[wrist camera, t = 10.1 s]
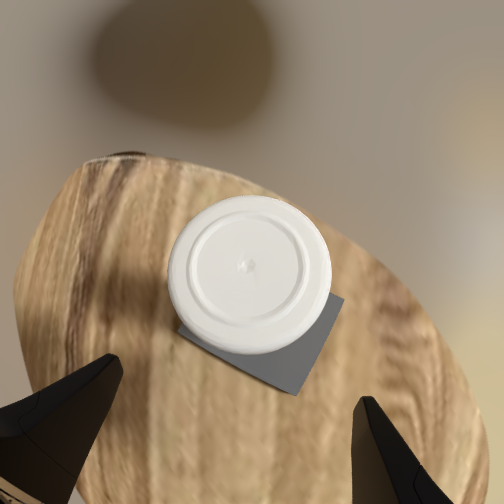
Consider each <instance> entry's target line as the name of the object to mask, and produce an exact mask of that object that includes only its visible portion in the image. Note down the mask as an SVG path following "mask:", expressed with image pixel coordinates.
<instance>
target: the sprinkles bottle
mask: <svg viewBox="0 0 504 504" xmlns="http://www.w3.org/2000/svg"><path fill="white" fill-rule="evenodd" d="M331 278H332V270H331V261H330V256H329V252H328V249H327V246H326V243H325V241H324V239H323V237H322V236H321V234H320V232H319V231H318V229H317V228H316V227H315V225H314V224H313V223H312V222H311V221H310V220H309V219H308V218H307V217H306V216H305V215H304V214H303V213H302V212H300V211H299V210H297V209H296V208H294V207H293V206H291V205H289V204H287V203H285V202H283V201H280V200H277V199H274V198H270V197H265V196H256V195H246V196H237V197H232V198H228V199H224V200H222V201H219V202H217V203H215V204H213V205H211V206H209V207H207V208H205V209H204V210H202V211H201V212H200V213H198V214H197V215H196V216H194V217H193V218H192V219H191V220H190V222H189V223H188V224H187V225H186V226H185V227H184V228H183V230H182V231H181V233H180V234H179V236H178V237H177V239H176V241H175V243H174V246H173V248H172V251H171V254H170V258H169V263H168V270H167V281H168V290H169V295H170V298H171V301H172V304H173V306H174V308H175V311H176V312H177V314H178V316H179V318H180V319H181V321H182V322H183V323H184V325H185V326H186V327H187V328H188V329H189V330H190V331H191V332H192V333H193V334H194V335H195V336H196V337H198V338H199V339H201V340H202V341H203V342H205V343H207V344H208V345H210V346H212V347H214V348H217V349H219V350H222V351H226V352H230V353H234V354H242V355H257V354H264V353H269V352H273V351H276V350H278V349H281V348H283V347H285V346H287V345H289V344H291V343H292V342H294V341H295V340H297V339H298V338H299V337H301V336H302V335H303V334H304V333H305V332H306V331H307V330H308V329H309V328H310V327H311V326H312V325H313V324H314V322H315V321H316V320H317V318H318V317H319V315H320V314H321V312H322V310H323V308H324V306H325V303H326V301H327V298H328V295H329V291H330V286H331Z"/></svg>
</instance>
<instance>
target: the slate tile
mask: <svg viewBox="0 0 504 504" xmlns="http://www.w3.org/2000/svg"><path fill="white" fill-rule="evenodd" d="M343 302H344V299H342V298H340V297H338V296H336V295H334V294H332V293H330V292H329V295H328V298H327V301H326V303H325V306H324V308H323V310H322V312H321V314H320V315H319V317H318V318H317V320H316V321H315V322H314V324H313V325H312V326H311V327H310V328H309V329H308V330H307V331H306V332H305V333H304V334H303V335H302V336H301V337H299V338H298V339H297V340H295V341H294V342H292V343H291V344H289V345H287V346H285V347H283V348H281V349H278V350H276V351H273V352H269V353H264V354H257V355H242V354H234V353H230V352H226V351H222V350H219V349H217V348H214V347H212V346H210V345H208V344H207V343H205V342H203V341H202V340H201V339H199V338H198V337H196V336H195V335H194V334H193V333H192V332H191V331H190V330H189V329H188V328H187V327H186V326H185V325H184V323H182V324H181V326H180V328H179V330H178V333H180V334H181V335H183V336H185V337H186V338H188V339H190V340H191V341H193V342H194V343H196V344H198V345H199V346H201V347H203V348H204V349H206V350H208V351H210V352H211V353H213V354H215V355H216V356H218V357H220V358H222V359H223V360H225V361H227V362H229V363H231V364H233V365H234V366H236V367H238V368H240V369H242V370H244V371H246V372H247V373H249V374H251V375H253V376H255V377H257V378H259V379H261V380H263V381H265V382H267V383H269V384H271V385H273V386H275V387H277V388H279V389H281V390H284V391H286V392H288V393H290V394H292V395H294V396H297V394H298V392H299V391H300V389H301V387H302V385H303V384H304V382H305V380H306V378H307V376H308V374H309V372H310V371H311V369H312V367H313V365H314V363H315V361H316V359H317V357H318V355H319V353H320V351H321V349H322V347H323V345H324V343H325V341H326V339H327V337H328V335H329V333H330V331H331V329H332V327H333V324H334V322H335V320H336V318H337V316H338V313H339V311H340V309H341V307H342V304H343Z"/></svg>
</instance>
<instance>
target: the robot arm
mask: <svg viewBox="0 0 504 504" xmlns="http://www.w3.org/2000/svg"><path fill="white" fill-rule="evenodd" d="M122 376H123V368H122V365H121V362H120V360H119V357H118V356H116V355H114V354H111V353H108V354H106V355H104V356H102V357H100V358H98V359H97V360H95V361H93V362H91V363H89V364H88V365H86V366H84V367H82V368H80V369H79V370H77V371H75V372H73V373H71V374H70V375H68V376H66V377H64V378H62V379H60V380H59V381H57V382H55V383H53V384H51V385H49V386H47V387H46V388H44V389H42V390H41V391H38V392H36V393H34V394H32V395H30V396H28V397H26V398H24V399H22V400H20V401H17V402H15V403H12V404H10V405H7V406H5V407H2V408H0V504H43V503H44V504H68V501H69V499H70V496H71V494H72V491H73V489H74V486H75V484H76V482H77V479H78V476H79V474H80V472H81V470H82V467H83V465H84V463H85V460H86V458H87V456H88V454H89V452H90V449H91V447H92V445H93V443H94V441H95V439H96V436H97V434H98V432H99V430H100V428H101V426H102V424H103V422H104V420H105V418H106V416H107V413H108V411H109V409H110V407H111V405H112V403H113V400H114V397H115V394H116V392H117V389H118V386H119V384H120V381H121V378H122ZM351 460H352V504H454V503H453V502H452V501H451V500H450V499H449V498H448V497H447V496H446V495H445V494H444V493H443V491H442V490H441V489H440V488H439V487H438V486H437V485H436V483H435V482H434V481H433V480H432V479H431V477H430V476H429V475H428V473H427V472H426V470H425V469H424V468H423V466H422V465H420V462H419V461H418V459H417V458H416V456H415V455H414V453H413V452H412V451H411V449H410V448H409V446H408V445H407V444H406V442H405V441H404V439H403V438H402V436H401V435H400V434H399V432H398V431H397V429H396V428H395V427H394V425H393V424H392V422H391V421H390V420H389V418H388V417H387V415H386V414H385V413H384V411H383V410H382V408H381V407H380V406H379V404H378V403H377V401H376V400H375V399H374V397H372V396H362V397H361V398H360V400H359V401H358V403H357V405H356V407H355V408H354V411H353V427H352V443H351Z"/></svg>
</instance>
